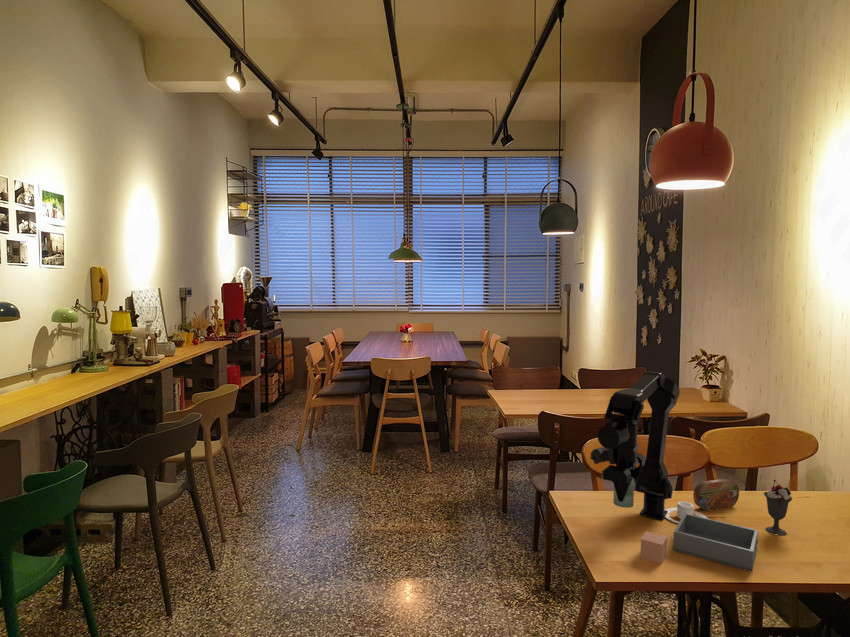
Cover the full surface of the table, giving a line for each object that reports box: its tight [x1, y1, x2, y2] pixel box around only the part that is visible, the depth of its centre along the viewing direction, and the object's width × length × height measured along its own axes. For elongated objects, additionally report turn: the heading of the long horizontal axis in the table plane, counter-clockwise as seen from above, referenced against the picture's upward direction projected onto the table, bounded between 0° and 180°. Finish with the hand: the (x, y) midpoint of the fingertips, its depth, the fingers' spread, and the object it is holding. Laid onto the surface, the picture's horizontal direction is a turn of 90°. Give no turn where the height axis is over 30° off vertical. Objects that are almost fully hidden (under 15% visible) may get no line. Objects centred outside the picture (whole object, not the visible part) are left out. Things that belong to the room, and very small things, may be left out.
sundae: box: [763, 479, 793, 536], centre depth 149 cm, size 7×7×15 cm
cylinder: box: [612, 477, 635, 509], centre depth 144 cm, size 5×5×7 cm
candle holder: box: [664, 501, 709, 524], centre depth 158 cm, size 12×12×4 cm
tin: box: [692, 478, 740, 512], centre depth 165 cm, size 15×3×8 cm, turn 105°
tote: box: [672, 513, 759, 572], centre depth 139 cm, size 13×17×5 cm
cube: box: [640, 531, 668, 565], centre depth 136 cm, size 5×5×5 cm
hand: (623, 497), depth 144 cm, fingers closed on cylinder, 5 cm apart
